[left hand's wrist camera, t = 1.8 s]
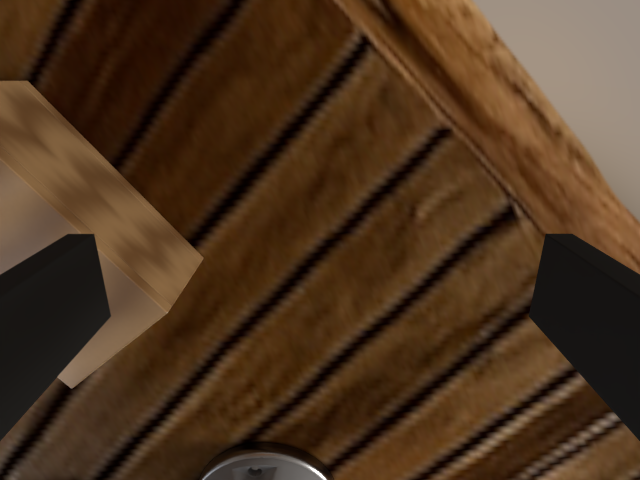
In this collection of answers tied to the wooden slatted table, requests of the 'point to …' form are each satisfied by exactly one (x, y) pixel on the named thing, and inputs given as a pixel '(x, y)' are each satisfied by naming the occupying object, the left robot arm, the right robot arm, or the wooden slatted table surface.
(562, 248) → the left robot arm
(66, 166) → the cabinet
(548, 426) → the wooden slatted table surface
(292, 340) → the wooden slatted table surface
